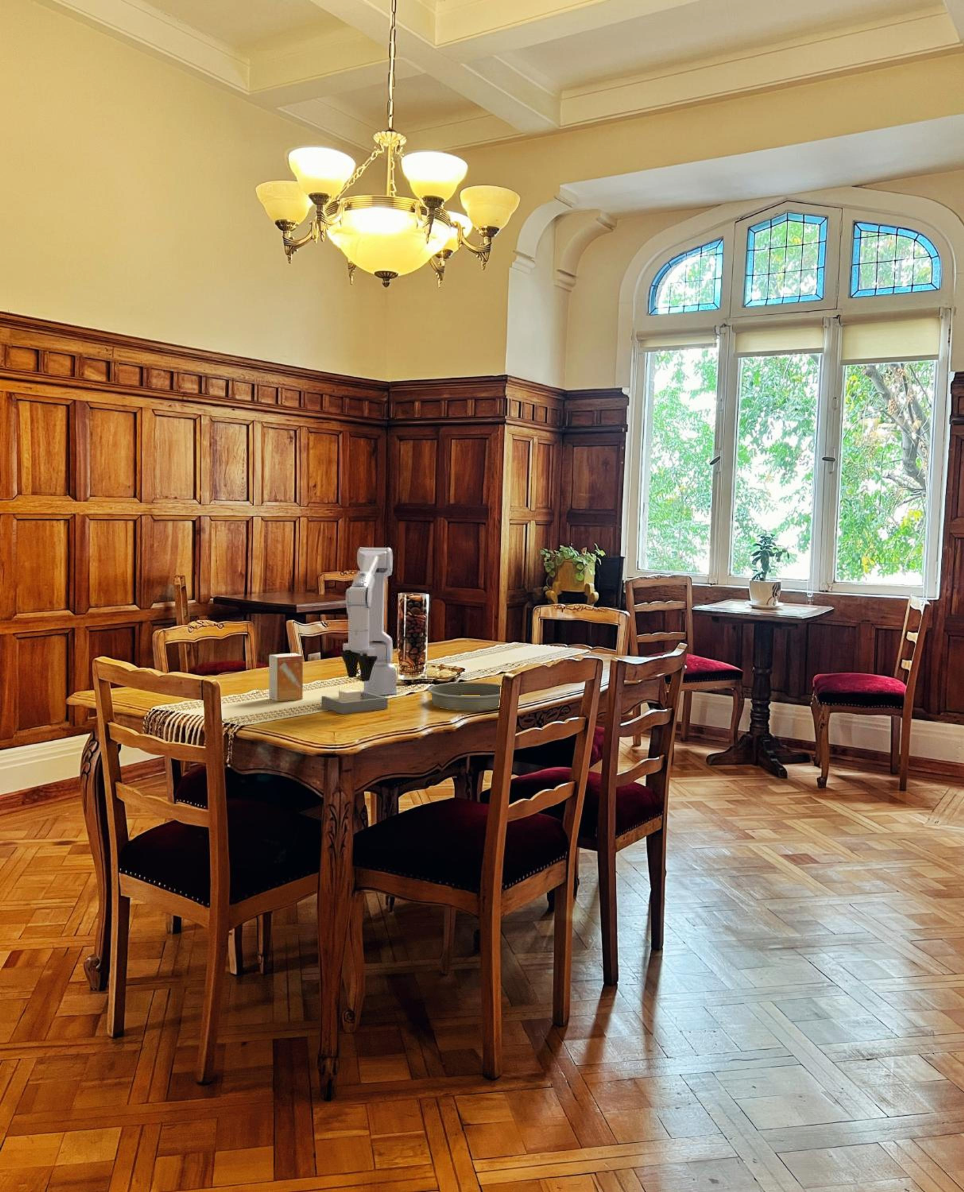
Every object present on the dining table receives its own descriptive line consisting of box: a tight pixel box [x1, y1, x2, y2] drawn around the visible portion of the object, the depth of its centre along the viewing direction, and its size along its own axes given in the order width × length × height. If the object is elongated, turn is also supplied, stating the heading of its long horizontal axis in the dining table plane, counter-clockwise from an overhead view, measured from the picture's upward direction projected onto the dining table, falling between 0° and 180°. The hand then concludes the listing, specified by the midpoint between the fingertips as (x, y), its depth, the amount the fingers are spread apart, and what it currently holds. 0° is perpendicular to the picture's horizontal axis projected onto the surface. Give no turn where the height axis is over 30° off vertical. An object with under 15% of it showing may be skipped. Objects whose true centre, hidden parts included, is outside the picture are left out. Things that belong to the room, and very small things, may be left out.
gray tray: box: [321, 692, 389, 715], centre depth 281 cm, size 14×12×3 cm
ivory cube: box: [338, 688, 362, 702], centre depth 284 cm, size 4×4×4 cm
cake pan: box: [427, 681, 502, 711], centre depth 290 cm, size 25×25×4 cm
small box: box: [268, 652, 304, 703], centre depth 294 cm, size 8×6×13 cm
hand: (358, 679), depth 279 cm, fingers open, 7 cm apart
